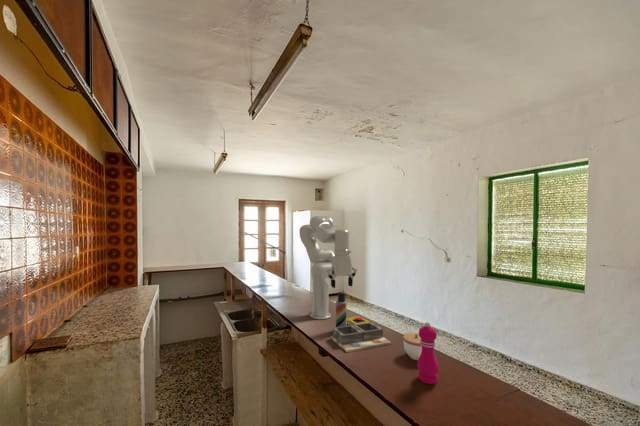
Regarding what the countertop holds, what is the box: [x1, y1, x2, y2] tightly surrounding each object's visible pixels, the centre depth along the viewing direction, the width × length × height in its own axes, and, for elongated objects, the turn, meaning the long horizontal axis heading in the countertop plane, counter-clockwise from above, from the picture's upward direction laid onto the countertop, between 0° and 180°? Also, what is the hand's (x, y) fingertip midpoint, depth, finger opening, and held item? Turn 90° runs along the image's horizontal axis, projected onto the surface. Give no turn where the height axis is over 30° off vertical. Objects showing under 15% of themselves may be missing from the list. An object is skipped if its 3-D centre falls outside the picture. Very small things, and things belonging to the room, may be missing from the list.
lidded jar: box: [402, 332, 422, 361], centre depth 116 cm, size 11×11×9 cm
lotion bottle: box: [335, 291, 348, 327], centre depth 143 cm, size 6×6×20 cm
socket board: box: [330, 321, 392, 354], centre depth 131 cm, size 16×23×5 cm
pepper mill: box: [416, 321, 440, 385], centre depth 99 cm, size 7×7×20 cm
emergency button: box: [347, 315, 370, 326], centre depth 152 cm, size 9×4×15 cm
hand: (341, 286), depth 143 cm, fingers open, 9 cm apart
